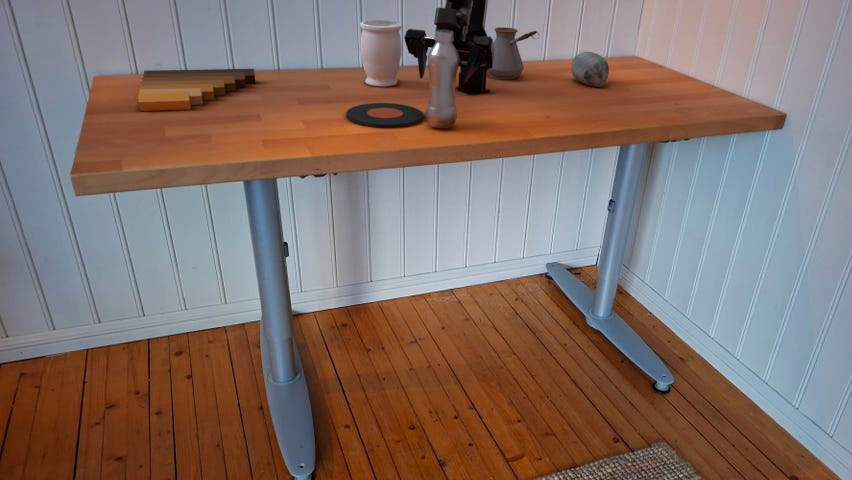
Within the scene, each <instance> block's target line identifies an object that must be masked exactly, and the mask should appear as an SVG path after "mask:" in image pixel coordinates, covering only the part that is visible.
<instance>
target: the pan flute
mask: <svg viewBox="0 0 852 480" xmlns="http://www.w3.org/2000/svg"><path fill="white" fill-rule="evenodd" d="M246 84H247V85H248V84H256V75H255V69H254V68H214V69H212V68H211V69H164V70H163V69H160V70H155V69H154V70H143V74H142V78H141V81H140V85H139V89H138V93H137V100H138V106H139V111H140V112H150V111H151V112H153V111H155V112H156V111H179V110H181V111H183V110H191V109H192V106H194V105H195V106H197V105H204V101H215V97H217V96H218V97H219V96H220V97H221V96H226V92H236V91H237V90H236V89H237V88H247V85H246Z"/></svg>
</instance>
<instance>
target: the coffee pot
mask: <svg viewBox="0 0 852 480" xmlns="http://www.w3.org/2000/svg"><path fill="white" fill-rule="evenodd" d="M494 32H495V35H496V37H495V39H494V40H493V44H494V58H493V68H492V69H488V70H487V75H488V76H489V77H490V78H492V79H496V80H515V79H517V77H518V76H520V75H521V73H522V72H523V70H524V63H523V60H522V57H521V54H520V50H519V46H518V44H517V43H518V42H520V41H524V40H527V39H529V38H530V37H531V38H532V39H534V40H538V39H539V38H540V36H541V35H540V33H539V32H538V31H536V30H533V31H529V32H528V33H525V34H523V35H521V36H519V37H517V38H516V35H517V33H518V32H519V30H518V29H517V28H512V27H505V26H504V27H503V26H501V27H499V26H498V27H495V28H494ZM536 34H537V35H538V37H537V38H535V37H534V36H535V35H536Z"/></svg>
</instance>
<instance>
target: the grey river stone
mask: <svg viewBox="0 0 852 480" xmlns="http://www.w3.org/2000/svg"><path fill="white" fill-rule="evenodd" d="M609 71H610V66H609V62H608V61H607V60H606V58H605V57H603V56H602V55H600V54H598V53H596V52H593V51H582V52H579V53H577V54H576V55H575V56H574V57H573V60H572V62H571V74H572V77H573V78H574V79H576V80H577V81H578V82H580V83H582V84H584V85H586V86H590V87H594V88H600V87H603V86H604V85H605V84H606V82H607V80H608V79H609V73H610V72H609Z"/></svg>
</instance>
